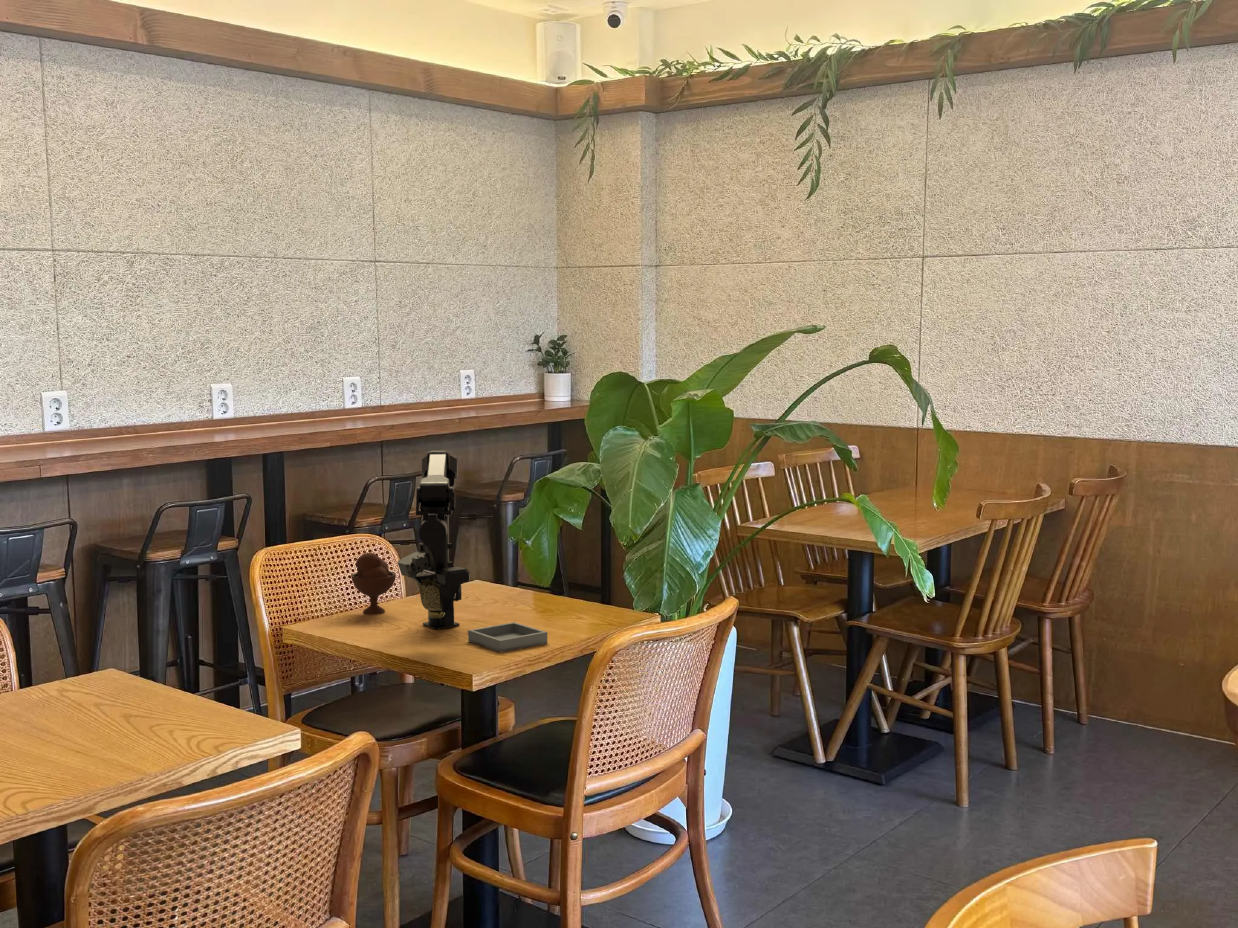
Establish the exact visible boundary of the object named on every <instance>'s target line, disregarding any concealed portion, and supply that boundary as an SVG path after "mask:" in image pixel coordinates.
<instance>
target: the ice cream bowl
mask: <svg viewBox="0 0 1238 928" xmlns="http://www.w3.org/2000/svg"><path fill="white" fill-rule="evenodd" d="M355 567H356V568H357V572H355V573H352V574H351V573H350V576H351V577H350V578H351V581H352V583H353V585H354V587H355V589H356V590H357V591H358V593H359V592H360V593H361V594H363V595H365V596H367V597H369V599H370V602H369V603H370V605H369V606H367V607H366V608H364V609H363V611H362V613H364V614H363V615H368V616H372V615H373V616H374V615H375V616H376V615H382V613H383V614H385V613H386V610H385V608H384V607H381V606H379V605H378V599H379V596H381V595H383V594H385V593H387V592H388V591H389V590H390V589H391V588H392V587H393V586H394V583H395V581H396V577H397V574H396V573H395V572H394V571H390V569H389V563H387V562H386V561H384V560H383V559H382V558H381V557H380V556H379V555H377V554H376V553H374V552H366V553H362V554H361V555H360V556H359V557H357V559H356V562H355ZM384 612H385V613H384Z"/></svg>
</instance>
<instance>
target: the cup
mask: <svg viewBox="0 0 1238 928" xmlns="http://www.w3.org/2000/svg"><path fill="white" fill-rule="evenodd" d="M435 582H436V579H435V578H434V579H433V581H431V580H430V579H428V578H427V579H426V580H425V581H424V580H421V583H419V586H418V588H419V594H420V603H421V604H422V607H423V608H424V609H425V610H427V611H428V610H429V611H428V612H427V615H428V616H429V617H431V618H441V617H443V616H444V615H445V612H444V613H443V612H442V609H441V602H440V592H439V589H438V588H437V586H436V585H435V584H434V583H435ZM437 582H438V581H437Z"/></svg>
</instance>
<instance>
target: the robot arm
mask: <svg viewBox="0 0 1238 928" xmlns="http://www.w3.org/2000/svg"><path fill="white" fill-rule="evenodd" d="M458 479H459V463H458V458H456V457H454V456H453V455H450V451H447V450H430V451H427V454H426V456H424V457H423V458H422V459H421V479H420V482H419V486H417V487H416V494H415V495H416V500H415V515H416V516H422V517H421V525H420V527H419V529H418V536H419V539H420V541H421V542H420V543H418V545H417V546H416V551H414V552H412V553H409V554H408V555H406V556H404V557H402V558H400V559H399V560H397V566H398V568H399V571H400V574H401V576H405V577H408V578H411V579H412V580H413V581H415V582H416V584H417V585H418V587H419V583H421V580H424V581H425V580H426V579H427V578H428V579H430V580H431V581H433V579H434V578H435V579H436V582H435V583H434V584H435V585H436V586H437V588H438V589H439V592H440V602H441V609H442V612H443V613H444V612H445V615H444V616H443V617H441V618H431V617H429V616H428V618H427V620H428V621H426V622H425V621H424V622H422V625H423V626H424V627H428V628H431V629H434V630H441V629H446V628H447V629H448V628H452V627H459V626H460V622H456V621H455V607H454V606H455V605H454V604H455V603H454V602H459V601H462V584H463V585H464V583H468V582H470V581H471V573H470V571H469V570H468V569H467V568H464V567H461V566H454V562H453V561H451V559H450V555H449V554H450V549H453V543H451V542H450V540H449V539H450V529H449V527H450V524H449V523H450V522H449V521H450V516H452V514H453V511H454V512H455V510H456V491H455V488H456V480H458ZM437 581H438V582H437ZM427 611H429V610H427Z"/></svg>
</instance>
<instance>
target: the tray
mask: <svg viewBox="0 0 1238 928" xmlns="http://www.w3.org/2000/svg"><path fill="white" fill-rule="evenodd" d="M467 635H468V636H467V640H468V643H472V644H475V645H478V646H481V647H483V648H487V649H489V650H493V651H496V652H498V653H504V652H509V651H515V650H517V649H518V650H519V649H520V650H521V649H525V648H529V647H535V646H541V645H546V644H548V631H546V630H541V629H538V628H535V627H532V626H529V625H525V624H521V623H519V622H516V621H514V622H508V623H502V624H497V625H495V624H494V625H491V626H490V625H489V626H484V627H478V628H474V629H473V628H472V629H469V630H467Z"/></svg>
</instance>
